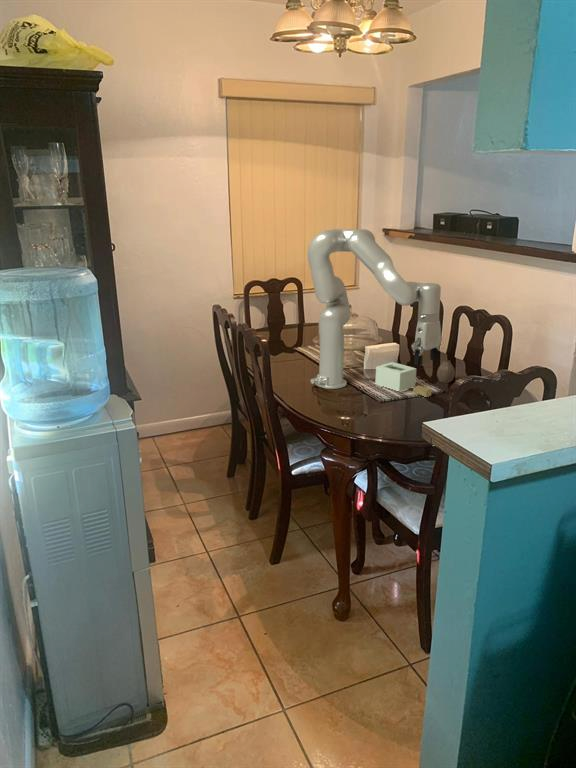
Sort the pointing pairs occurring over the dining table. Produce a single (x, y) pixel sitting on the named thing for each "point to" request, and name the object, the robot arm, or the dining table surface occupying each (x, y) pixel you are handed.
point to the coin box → (395, 376)
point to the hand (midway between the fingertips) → (426, 362)
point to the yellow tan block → (422, 391)
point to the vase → (446, 372)
